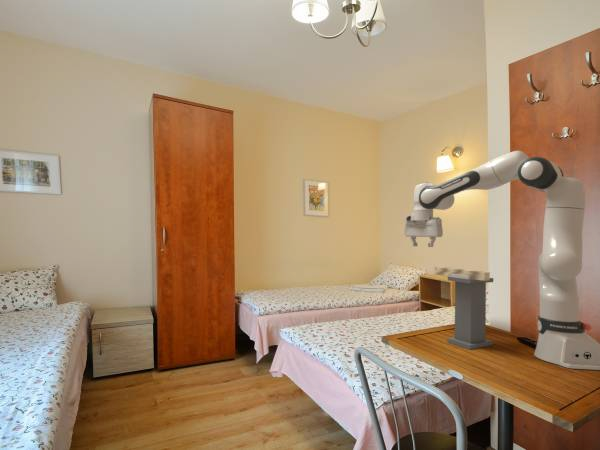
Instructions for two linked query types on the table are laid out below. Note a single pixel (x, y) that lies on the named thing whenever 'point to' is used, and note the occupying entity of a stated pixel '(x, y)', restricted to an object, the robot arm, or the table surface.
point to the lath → (463, 273)
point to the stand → (469, 312)
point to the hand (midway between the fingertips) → (422, 246)
